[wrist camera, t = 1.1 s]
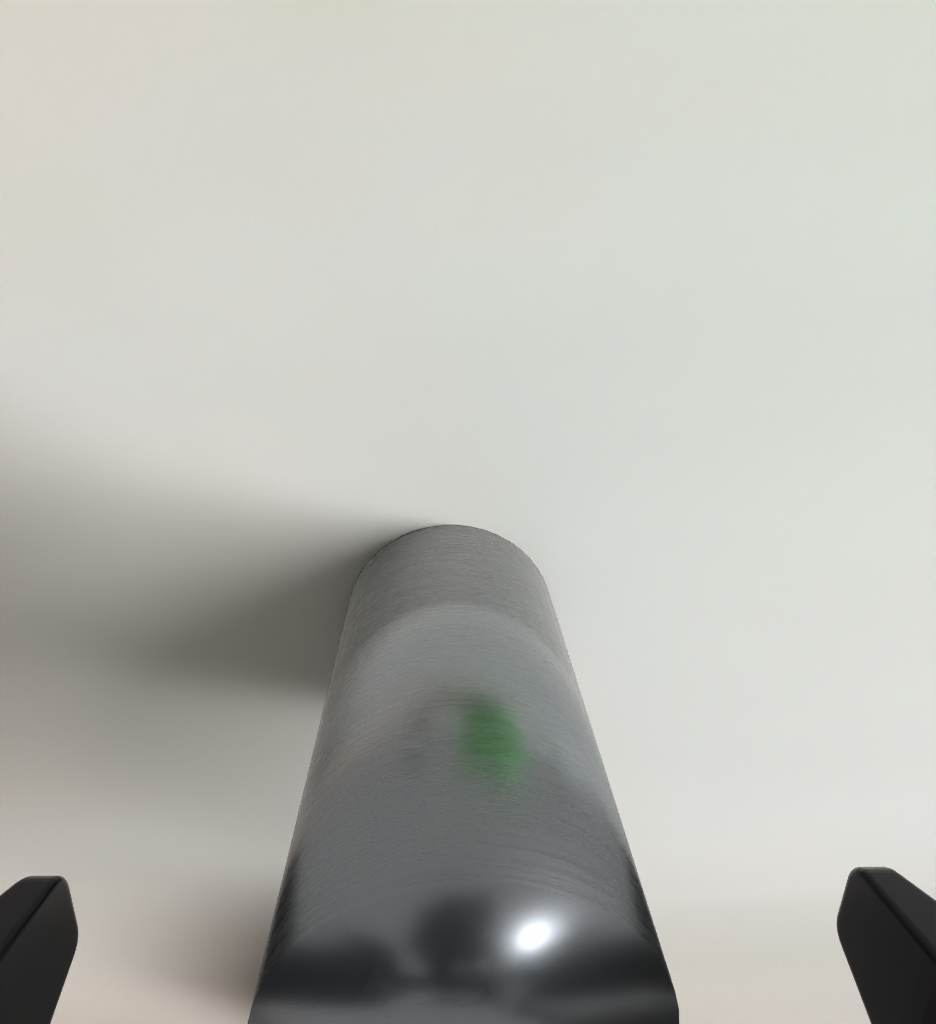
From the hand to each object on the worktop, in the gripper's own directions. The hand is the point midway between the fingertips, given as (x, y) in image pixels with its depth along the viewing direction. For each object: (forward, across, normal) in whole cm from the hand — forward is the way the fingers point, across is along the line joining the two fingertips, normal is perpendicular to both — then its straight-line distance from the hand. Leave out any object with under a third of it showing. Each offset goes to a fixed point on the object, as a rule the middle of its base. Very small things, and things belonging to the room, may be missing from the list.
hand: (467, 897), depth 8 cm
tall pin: (+6, 0, 0) cm, 6 cm away
